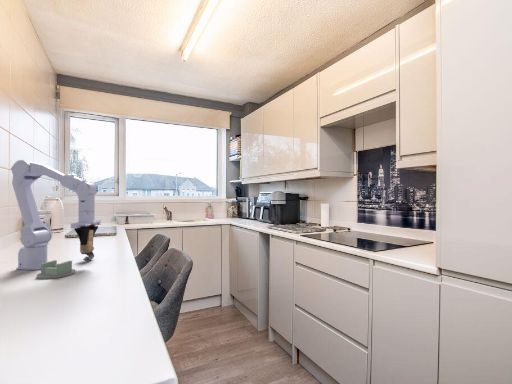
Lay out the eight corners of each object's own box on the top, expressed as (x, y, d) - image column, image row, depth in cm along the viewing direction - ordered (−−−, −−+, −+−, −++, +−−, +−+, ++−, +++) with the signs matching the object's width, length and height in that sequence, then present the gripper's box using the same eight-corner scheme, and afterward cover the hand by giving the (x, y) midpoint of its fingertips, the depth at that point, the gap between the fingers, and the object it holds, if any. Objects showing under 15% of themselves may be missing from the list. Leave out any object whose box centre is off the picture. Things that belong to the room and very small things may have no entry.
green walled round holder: (27, 278, 101) (27, 265, 101) (56, 269, 113) (56, 258, 113) (57, 279, 99) (57, 266, 99) (83, 270, 111) (83, 259, 111)
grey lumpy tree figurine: (89, 261, 126) (89, 239, 126) (78, 262, 126) (78, 239, 126) (96, 259, 131) (96, 237, 131) (85, 259, 131) (85, 237, 131)
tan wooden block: (80, 252, 115) (80, 230, 116) (84, 250, 118) (84, 229, 118) (88, 252, 115) (89, 230, 115) (93, 251, 117) (93, 229, 117)
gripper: (82, 212, 109) (82, 247, 109) (107, 210, 123) (106, 241, 123) (65, 212, 110) (65, 247, 110) (92, 210, 124) (92, 241, 124)
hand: (86, 244), depth 116 cm, fingers closed on tan wooden block, 2 cm apart
